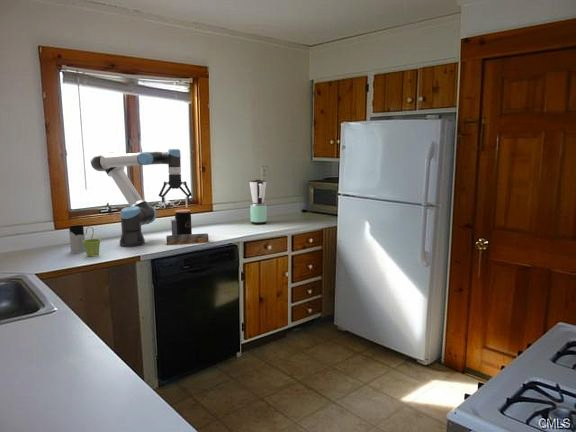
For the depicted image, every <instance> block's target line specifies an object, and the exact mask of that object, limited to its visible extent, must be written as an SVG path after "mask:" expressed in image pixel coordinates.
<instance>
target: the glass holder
mask: <svg viewBox="0 0 576 432" xmlns="http://www.w3.org/2000/svg"><path fill="white" fill-rule="evenodd" d="M68 228H69V231H68V232H69V233H68V234H69V244H70V253H71V254H80V253H86V249H85V245H84V243H83V241H84V240H86V239H85V235H87V234H88V229H89V228H91V230H92V235H91V237H90V239H93V237H94V235H95V234H94V233H95V231H94V228H93V227H92V226H88V227H86V230H85V231H84V225H82V224H81V225H80V224H79V225H78V224H77V225H76V224H75V225H71V226H69V227H68Z"/></svg>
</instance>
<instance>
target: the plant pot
mask: <svg viewBox="0 0 576 432" xmlns="http://www.w3.org/2000/svg"><path fill="white" fill-rule="evenodd" d="M101 241H102V239H101V238H92V239H91V238H90V239H85V240H84V241H83V243H84V245H85V249H86V252H85V253H86V256H87V257H89V258H90V257H97V256H99V254H100V246H101V245H100V243H101Z"/></svg>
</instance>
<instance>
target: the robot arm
mask: <svg viewBox="0 0 576 432" xmlns="http://www.w3.org/2000/svg"><path fill="white" fill-rule="evenodd" d="M181 163H182V162H181V150H180V149H179V148H174V149H173V148H168V149H167V151H150V152H149V151H143V152H135V153H121V154H119V153H116V152H115V153H114V152H97V153H95V154H93V156H91V159H90V166H91V167H92V168H93V170H95V171H98V172H105V173H106V174H107V176H108V177H111V178H112V179H113V181H114V183H115V184H116V186H117V187H118V189H119V190H120V193H121V194H122V195H123V197H124V199H125V200H126V201H127V204H128V205H129V206H126V207H123V208H122V209H121V210H120V215H119V216H120V225H121V235H120V239H119V246H120V247H124V248H125V247H130V248H131V247H139V246H143V245H145V243H146V240H145V237H144V235H143V232H142V226H145V225H148V224H149V225H150V224H151V223H153V222H155V220H156V218H157V210H156V208H155V207H154V206H153V205H150V204H149V203H148V202H147V200H143V198H142V197H141V195H140V194H139V192H138V191H137V189H136V188H135V186H134V185H133V183H132V181H131V180H130V178H129V176H128V175H127V173H126V172H125V167H137V166H151V165H168V181H164V182H163V186H162V187H161V190H160V192H159V194H158V197H159V198H161V203H163V208H164V209H166V197H165V196H166V195H167V194H169V192H170V190H171V189H173V190H174V189H177V190H178V189H180V190H181V192H183V194H184V195H185V208H188V203H189V202H190V197H192V196H193V194H192V192H191V191H190V188H189V187H188V184H187V181H182V174H181V173H182V167H181V166H182V165H181ZM182 185H183V186H184V188H186V189H184V188H183V187H182ZM166 186H168V188H166ZM165 189H166V190H165ZM164 190H165V191H164ZM186 191H187V192H186ZM163 192H164V193H163Z"/></svg>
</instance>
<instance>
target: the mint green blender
mask: <svg viewBox="0 0 576 432" xmlns="http://www.w3.org/2000/svg"><path fill="white" fill-rule="evenodd" d="M266 187H267V180H264V179H263V180H262V179H254V180H249V188H250V194H251V201H252V202H251V203H250V205H249V206H250V208H249V210H250V211H249V213H250V214H249V215H250V217H249V218H250V223H251V224H253V225H255V226H256V225H257V224H258V225H260V224H263V225H267V221H268V219H267V218H268V217H267V215H268V214H267V212H268V211H267V203H266V202H265V197H266V196H265V195H266Z"/></svg>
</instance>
